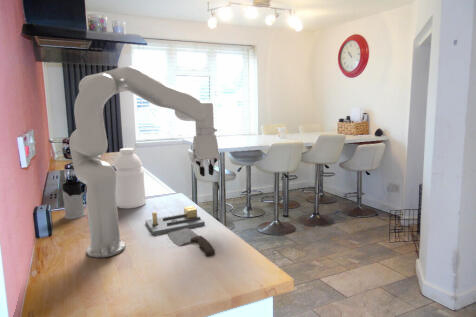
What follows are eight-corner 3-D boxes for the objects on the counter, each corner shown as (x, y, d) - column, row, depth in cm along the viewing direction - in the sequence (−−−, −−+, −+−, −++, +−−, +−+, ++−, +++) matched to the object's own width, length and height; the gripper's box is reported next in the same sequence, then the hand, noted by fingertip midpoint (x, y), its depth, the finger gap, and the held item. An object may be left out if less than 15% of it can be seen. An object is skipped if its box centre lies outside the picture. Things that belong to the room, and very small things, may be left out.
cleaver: (221, 253, 117) (221, 247, 117) (195, 261, 112) (194, 255, 112) (184, 228, 142) (184, 223, 142) (161, 234, 137) (161, 228, 136)
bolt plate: (204, 225, 143) (204, 209, 142) (153, 235, 134) (152, 219, 133) (193, 215, 155) (192, 201, 154) (145, 223, 146) (144, 208, 145)
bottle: (130, 199, 183) (126, 146, 178) (151, 202, 177) (147, 147, 172) (110, 207, 170) (105, 150, 165) (132, 210, 164) (127, 151, 159)
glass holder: (62, 215, 160) (58, 183, 157) (94, 208, 169) (90, 178, 166) (67, 220, 153) (63, 187, 150) (100, 212, 162) (97, 181, 159)
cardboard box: (197, 218, 146) (196, 208, 145) (188, 220, 144) (187, 210, 144) (193, 214, 150) (192, 205, 150) (184, 216, 149) (183, 207, 148)
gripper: (219, 129, 151) (221, 171, 155) (183, 132, 144) (185, 175, 147) (226, 131, 145) (228, 174, 148) (188, 134, 138) (191, 179, 141)
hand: (206, 174), depth 148 cm, fingers open, 3 cm apart
